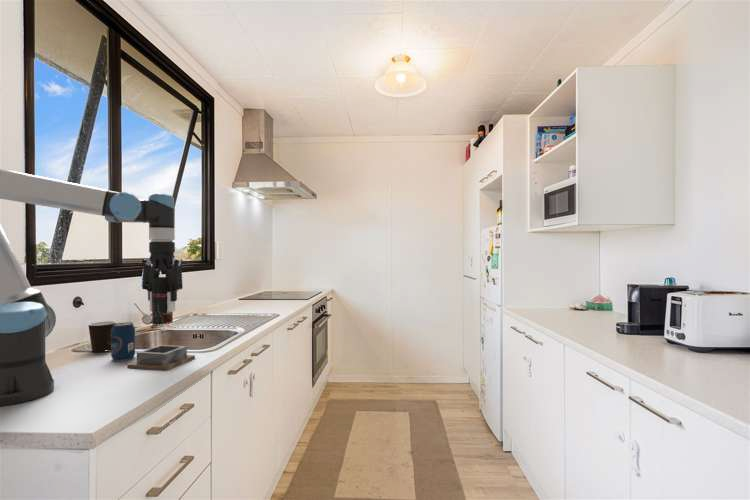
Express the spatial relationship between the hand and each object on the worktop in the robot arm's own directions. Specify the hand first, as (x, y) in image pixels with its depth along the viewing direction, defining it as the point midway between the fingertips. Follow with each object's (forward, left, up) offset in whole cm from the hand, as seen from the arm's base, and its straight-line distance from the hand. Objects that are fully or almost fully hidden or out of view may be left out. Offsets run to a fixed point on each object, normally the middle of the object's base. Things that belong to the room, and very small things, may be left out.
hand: (162, 310), depth 132 cm
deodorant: (0, 0, -4) cm, 4 cm away
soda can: (+2, +17, -17) cm, 25 cm away
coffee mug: (+12, +34, -17) cm, 40 cm away
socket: (0, 0, -17) cm, 17 cm away
